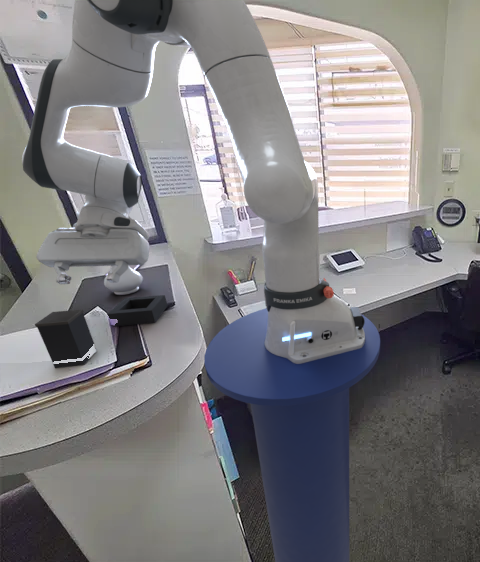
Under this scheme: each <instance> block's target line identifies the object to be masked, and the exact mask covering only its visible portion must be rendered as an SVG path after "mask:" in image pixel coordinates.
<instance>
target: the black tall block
mask: <svg viewBox="0 0 480 562" xmlns="http://www.w3.org/2000/svg"><path fill="white" fill-rule="evenodd" d="M34 326H35V328H37V330H38V332H39V335H40V337H41V340H42V341H43V344H44V346H45V348H46V351H47V353H48V355H49V358H50V361H51V362H52V365H53V366H54V369H60V368H70V367H78V366H85V365H86V364H87V362H89V361H90V359H88V358H89V356H87V357H88V358H87V357H86V358H85V359H84V360H83V361H76V362H68V363H59V364H53V362H54V361H61V360H67V359H77V358H82V357H83V356H84V355H85V354H86V353H87V352H88V351H89V349H90V348H91V347H92V346H93V344H95V341H94V339H93V336H92V332H91V330H90V328H89V325H88V323H87V319H86V317H85V315H84V309H71V310H59V311H52V312H50V313H49V314H47V315H46V316H44V317H42V319H40V320H39V321H37V322H36V323H34ZM89 355H90V354H89Z"/></svg>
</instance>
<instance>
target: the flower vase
mask: <svg viewBox="0 0 480 562" xmlns="http://www.w3.org/2000/svg"><path fill="white" fill-rule="evenodd" d="M79 214H80V211H76V214H75V215H76V218H77V219H78V217H79ZM128 217H129V218H130V219H133V218H132V217H131V216H130V215H129V216H128ZM76 224H77V222H75V223H73V225H72V228H75V227H76ZM116 267H117V266H110V269H109V271H110V272H109V271H108V272H109V273H112V272H113V271H114V270H115V268H116ZM107 277H108V276H105V277H104V279H103V285H104V288H106V289H107V290H109V291H111V292H113V294H114V295H117V296H125V295H131V294H133V293H136V292H138V291H139V290H140V286H141V285H142V283H143V282H144V277H143V275H142V274H141V273H140V272H139V271H137V270H134V269H132V268H131V267H130V266H129V265H128V269H127V270H126V271H125V272H124V273H123V274H122V275H121V276H120V279H119V282H116V283H115V282H114V283H110V282H109V281H107V279H106V278H107Z"/></svg>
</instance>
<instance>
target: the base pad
mask: <svg viewBox="0 0 480 562" xmlns="http://www.w3.org/2000/svg"><path fill="white" fill-rule="evenodd" d="M166 298H167V297H166V295H165V294H160V295H147V296H133V297H131V296H130V297H124V298H123V299H122V300H121V301H120V302H119V303H117V305H115V306H114V307H113V308H112V309H111V310H110V311H109V312H108V313H107V314H106V316H107V315H108V316H109V318H110V319H117V320H118V323H116V324H115V326H114V327H124V326H135V325H144V324H145V325H146V324H155V323H157V321H158V320H159V318H161V316H162V314H163V313H164V312H165V311H166V309H167V308H168V302H167V299H166ZM108 316H107V317H108Z"/></svg>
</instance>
